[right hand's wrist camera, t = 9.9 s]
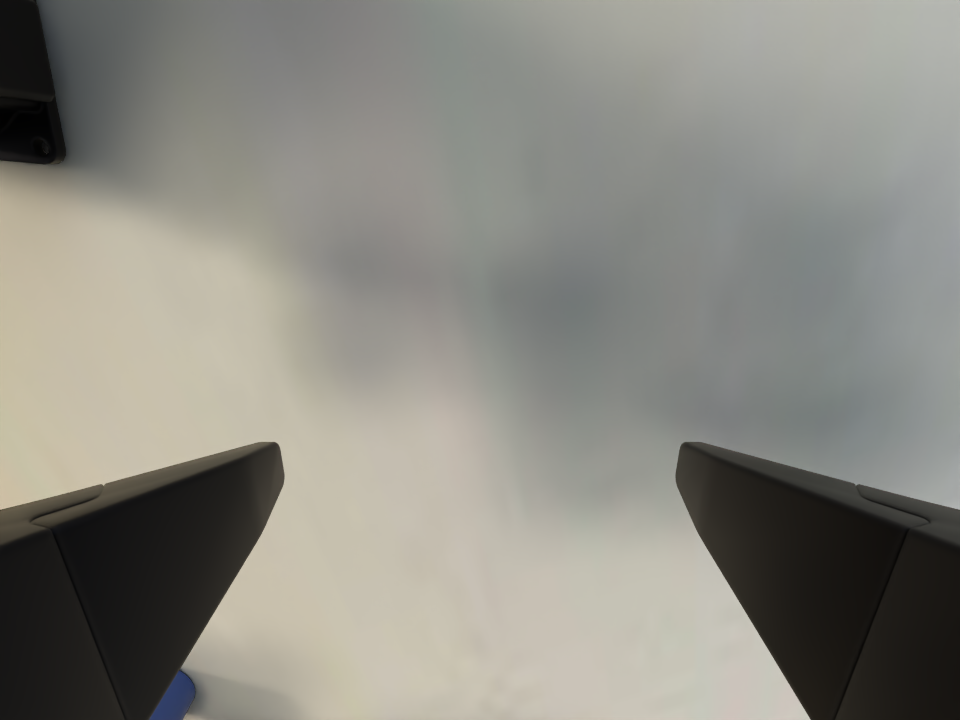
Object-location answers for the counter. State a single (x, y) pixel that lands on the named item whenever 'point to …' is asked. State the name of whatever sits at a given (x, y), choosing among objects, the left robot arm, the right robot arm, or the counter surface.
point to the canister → (175, 699)
